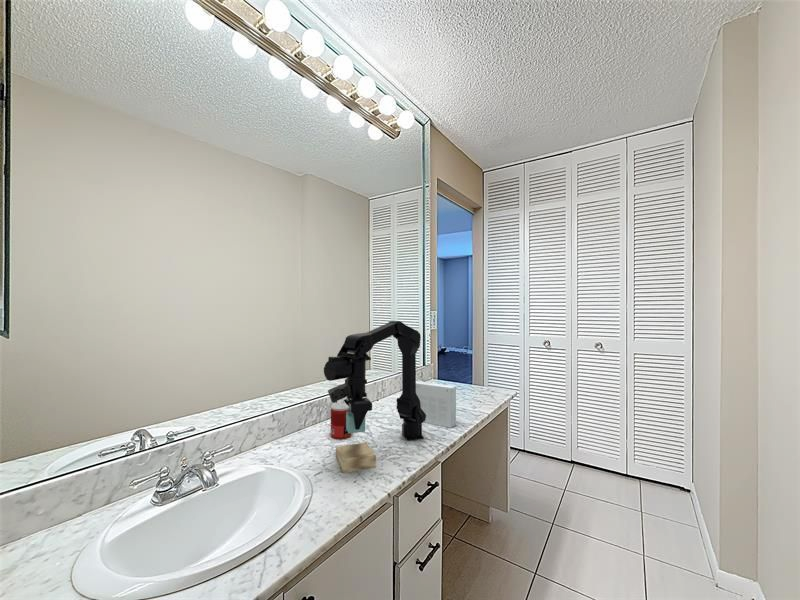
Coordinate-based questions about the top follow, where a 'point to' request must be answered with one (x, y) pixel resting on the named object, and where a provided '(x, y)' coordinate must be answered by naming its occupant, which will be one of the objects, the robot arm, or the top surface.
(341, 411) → the canned food
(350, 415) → the teal cube
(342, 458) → the bamboo box
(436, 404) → the skincare box
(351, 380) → the robot arm
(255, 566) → the top surface
